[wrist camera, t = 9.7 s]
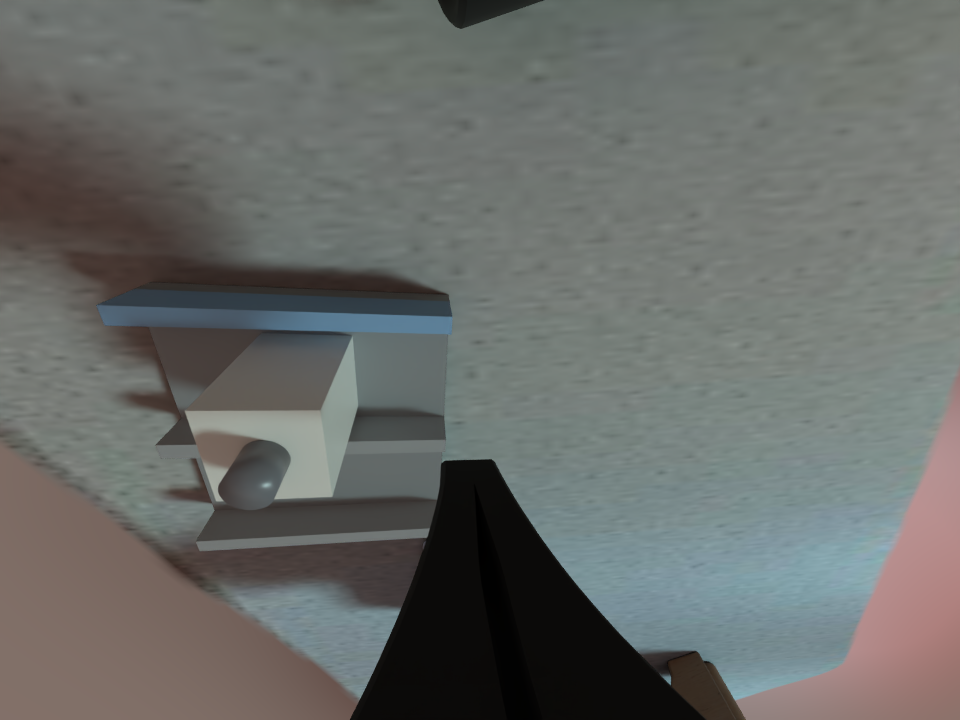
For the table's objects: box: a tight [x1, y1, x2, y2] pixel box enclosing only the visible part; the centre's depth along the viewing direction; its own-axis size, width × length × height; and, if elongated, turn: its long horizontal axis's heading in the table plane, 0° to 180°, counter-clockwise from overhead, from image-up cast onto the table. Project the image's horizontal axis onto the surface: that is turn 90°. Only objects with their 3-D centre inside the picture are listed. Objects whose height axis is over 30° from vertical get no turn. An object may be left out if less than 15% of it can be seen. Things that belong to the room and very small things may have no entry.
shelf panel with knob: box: [96, 282, 452, 551], centre depth 19 cm, size 14×13×3 cm
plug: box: [185, 333, 358, 510], centre depth 15 cm, size 4×4×8 cm
